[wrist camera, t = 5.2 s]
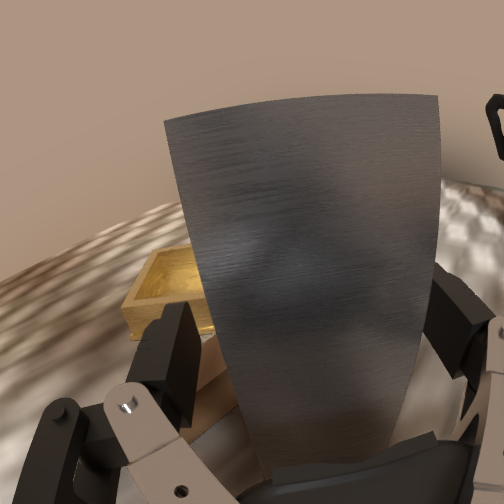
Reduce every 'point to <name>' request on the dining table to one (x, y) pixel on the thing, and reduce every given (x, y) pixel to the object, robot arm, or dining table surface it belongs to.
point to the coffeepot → (496, 121)
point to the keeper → (166, 290)
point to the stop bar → (314, 261)
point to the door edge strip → (210, 391)
